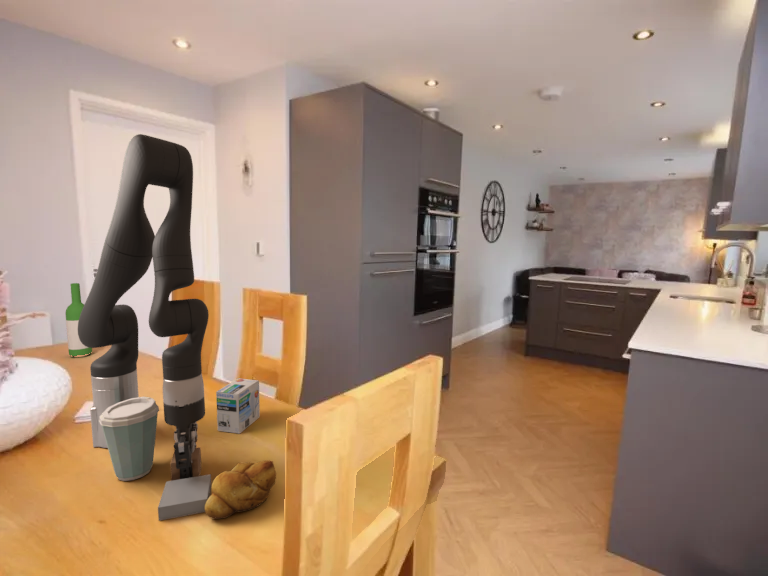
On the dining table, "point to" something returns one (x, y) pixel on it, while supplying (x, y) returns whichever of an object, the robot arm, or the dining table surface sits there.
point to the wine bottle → (75, 323)
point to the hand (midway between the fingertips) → (188, 474)
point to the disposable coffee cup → (131, 436)
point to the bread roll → (240, 489)
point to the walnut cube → (195, 465)
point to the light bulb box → (238, 405)
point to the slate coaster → (184, 497)
